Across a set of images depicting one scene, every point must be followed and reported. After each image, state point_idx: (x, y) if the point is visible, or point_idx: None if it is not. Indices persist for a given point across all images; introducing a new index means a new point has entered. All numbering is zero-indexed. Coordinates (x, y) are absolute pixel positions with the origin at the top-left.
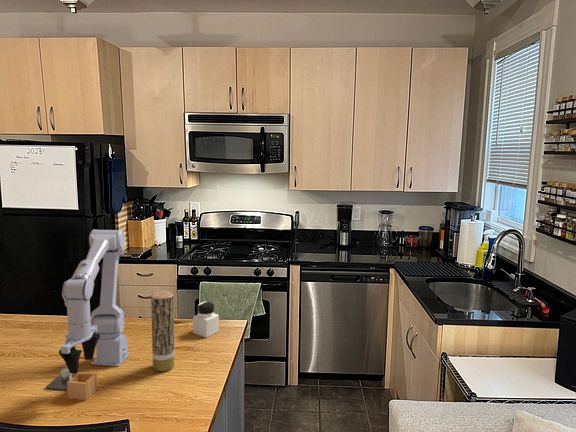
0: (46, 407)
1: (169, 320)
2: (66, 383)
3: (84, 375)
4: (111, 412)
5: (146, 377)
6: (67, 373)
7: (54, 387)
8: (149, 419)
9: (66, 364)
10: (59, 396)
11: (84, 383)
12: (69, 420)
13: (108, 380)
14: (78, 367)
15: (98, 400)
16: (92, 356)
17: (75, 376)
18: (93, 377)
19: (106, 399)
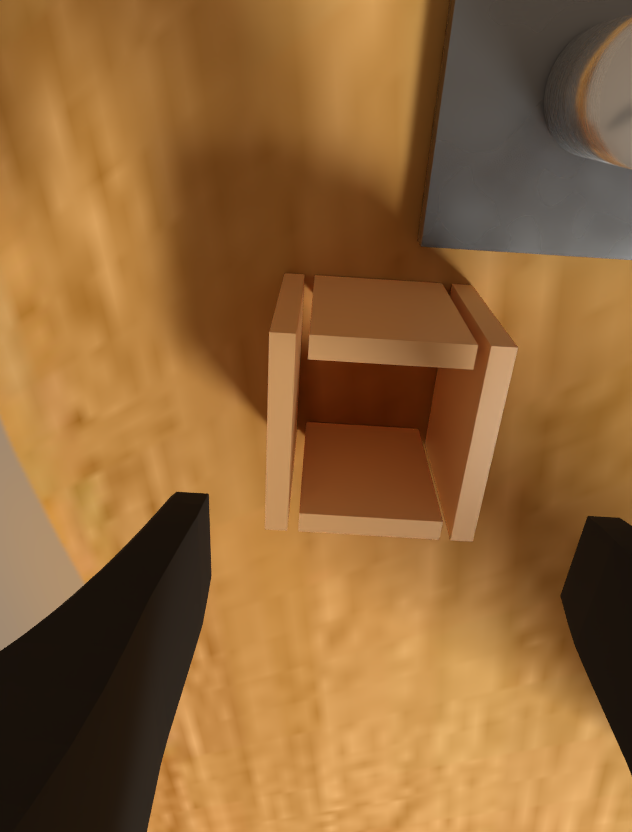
0: (119, 144)
1: None
2: (525, 129)
3: (470, 417)
4: None
5: None
6: (593, 141)
7: (450, 17)
8: None
9: (90, 581)
10: (314, 165)
11: (269, 514)
12: (17, 434)
13: (584, 470)
14: (192, 649)
15: None
16: (580, 652)
17: (409, 361)
18: (407, 531)
19: (305, 554)
